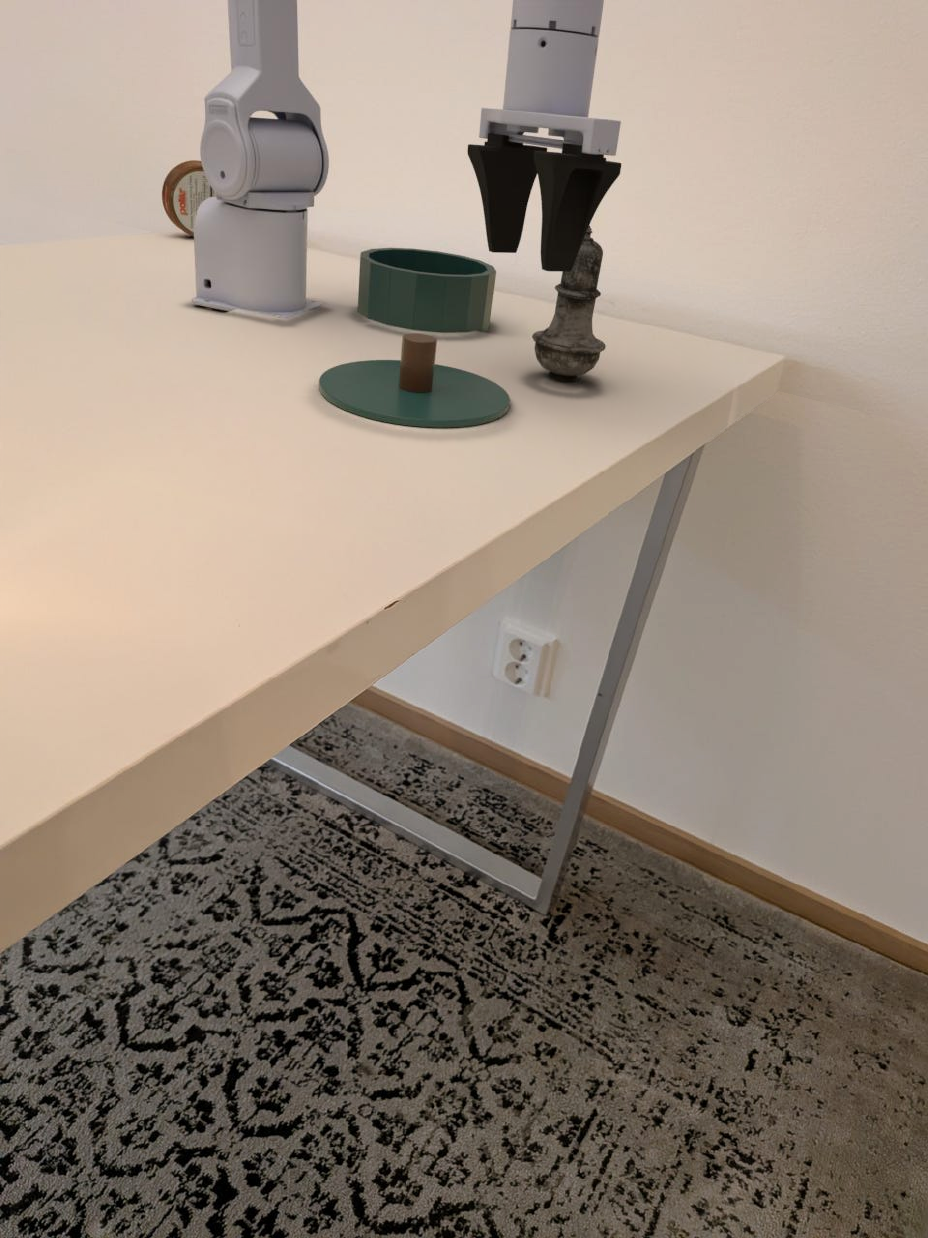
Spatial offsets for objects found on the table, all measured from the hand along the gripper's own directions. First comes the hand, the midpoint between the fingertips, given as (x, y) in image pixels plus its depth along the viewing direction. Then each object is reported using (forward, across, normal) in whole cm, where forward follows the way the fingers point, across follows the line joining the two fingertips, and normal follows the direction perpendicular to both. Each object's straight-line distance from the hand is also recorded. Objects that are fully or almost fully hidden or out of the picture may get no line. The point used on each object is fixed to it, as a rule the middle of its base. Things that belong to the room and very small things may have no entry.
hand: (528, 260), depth 63 cm
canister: (+9, +22, -2) cm, 24 cm away
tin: (+8, +61, +6) cm, 62 cm away
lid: (+9, -1, +9) cm, 13 cm away
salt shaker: (+10, +2, -5) cm, 11 cm away
